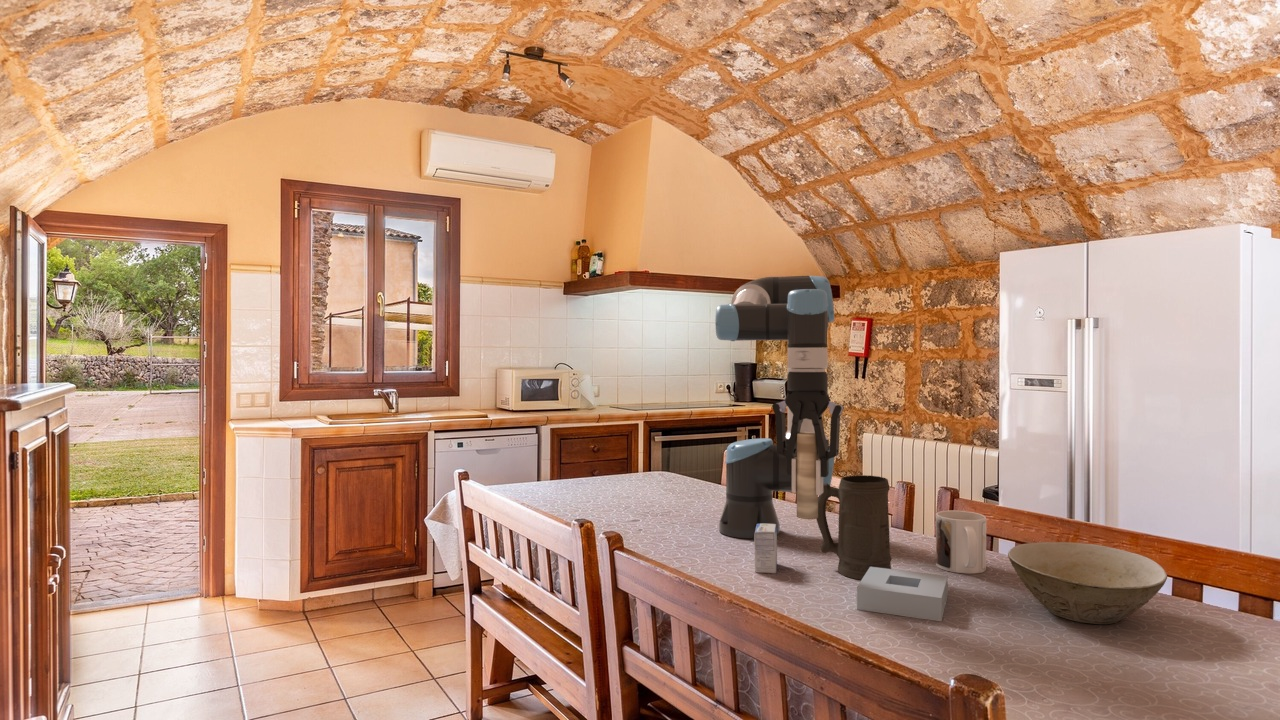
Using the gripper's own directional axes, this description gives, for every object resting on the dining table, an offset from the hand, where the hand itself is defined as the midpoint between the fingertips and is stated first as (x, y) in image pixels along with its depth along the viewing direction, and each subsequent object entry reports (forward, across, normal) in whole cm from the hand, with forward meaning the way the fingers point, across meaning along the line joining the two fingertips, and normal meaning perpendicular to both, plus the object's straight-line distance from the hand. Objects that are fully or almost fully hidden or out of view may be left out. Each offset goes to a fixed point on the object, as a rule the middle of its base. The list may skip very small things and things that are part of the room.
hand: (807, 492), depth 147 cm
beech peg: (+5, 0, 0) cm, 5 cm away
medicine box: (+19, -12, +11) cm, 25 cm away
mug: (+19, +25, +29) cm, 43 cm away
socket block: (+19, +18, 0) cm, 26 cm away
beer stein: (+19, +5, +16) cm, 26 cm away
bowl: (+19, +46, +8) cm, 51 cm away
